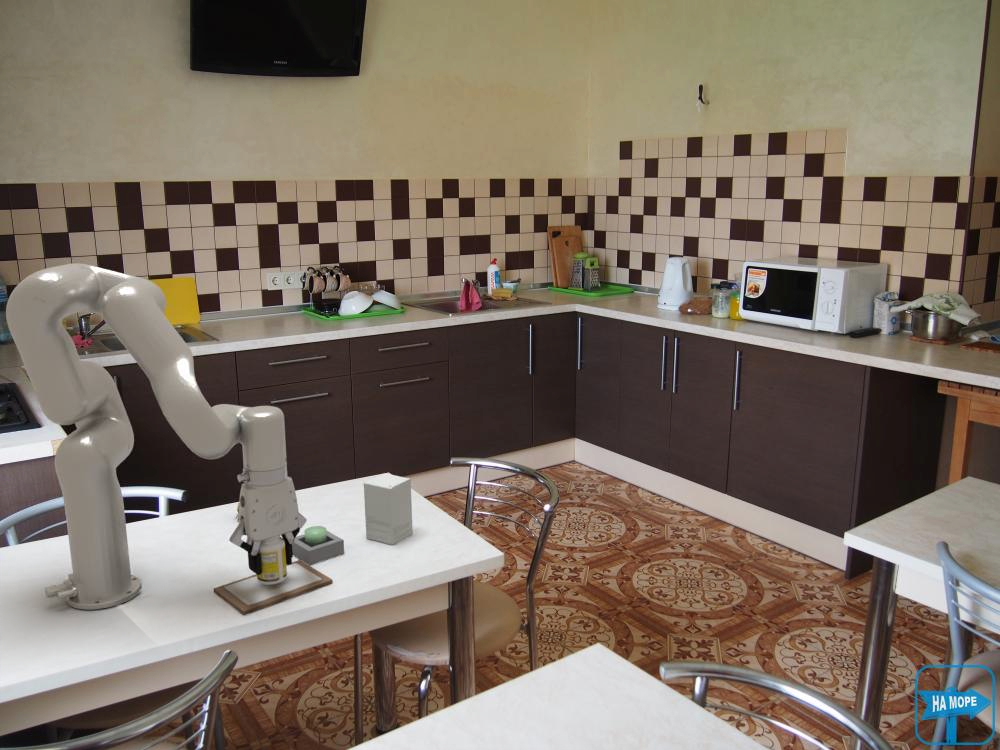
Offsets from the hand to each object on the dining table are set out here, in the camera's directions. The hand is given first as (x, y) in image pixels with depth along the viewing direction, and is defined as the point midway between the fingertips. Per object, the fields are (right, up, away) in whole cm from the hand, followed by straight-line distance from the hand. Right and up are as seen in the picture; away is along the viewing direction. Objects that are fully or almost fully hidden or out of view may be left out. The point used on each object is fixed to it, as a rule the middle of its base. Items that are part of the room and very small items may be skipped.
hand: (271, 566), depth 159 cm
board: (0, -4, +1) cm, 4 cm away
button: (+5, +2, +15) cm, 16 cm away
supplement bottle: (0, -3, +1) cm, 3 cm away
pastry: (-13, +3, +36) cm, 38 cm away
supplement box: (+19, +1, +25) cm, 31 cm away
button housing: (+5, -1, +16) cm, 17 cm away
